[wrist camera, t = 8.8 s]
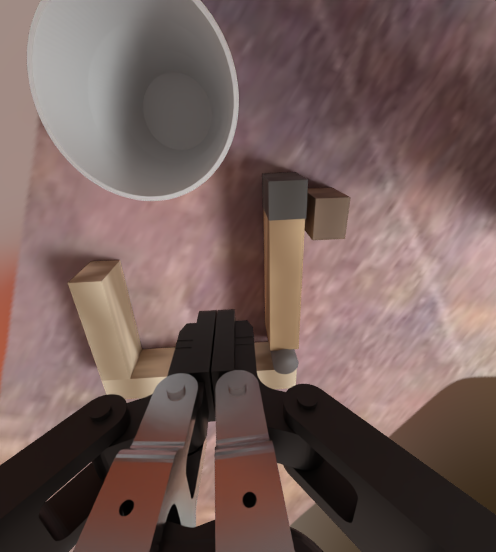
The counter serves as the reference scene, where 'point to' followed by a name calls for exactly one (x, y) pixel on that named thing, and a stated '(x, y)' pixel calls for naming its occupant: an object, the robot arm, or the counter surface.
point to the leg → (283, 263)
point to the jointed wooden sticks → (156, 362)
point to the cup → (134, 91)
